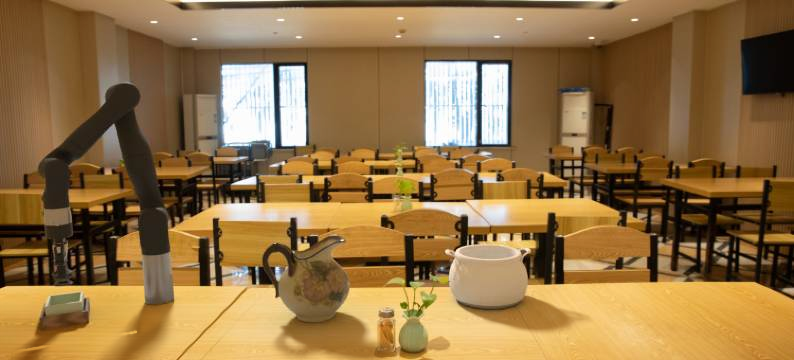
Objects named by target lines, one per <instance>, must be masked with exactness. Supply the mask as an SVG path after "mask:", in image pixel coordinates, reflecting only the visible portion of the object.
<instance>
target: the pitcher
mask: <svg viewBox="0 0 794 360" xmlns="http://www.w3.org/2000/svg"><path fill="white" fill-rule="evenodd" d="M345 243H346V239H345V238H344V237H343V236H341V235H338V234H331V235H328V236H326V237H323V238H322V239H321V240H319V241H318V242H316V243H315V244H313V245H312V246H309V247H307V248H305V249H304V250H292V249H291V248H290V247H289V246H288V245H286V244H283V243H279V242H274V243H272V244H270V246H268V247H267V248H266V249H265V250H264V252H263V255H262V256H261V257H262V258H261V262H262V263H261V264H262V268H263V269H264V272H265V273H266V275H267V276H268V278H269V279H270V281H271V282H272V284H273V287H274V289H275V296H274V297H275V299H278V298H280V300H281V301H282V303H283V304H284V305H285V307H286V308H287V309H288V310H289V311H290V312H291V313H292V314H294V315H295V316H296V319H298V320H299V321H302V322H305V323H321V322H322V323H323V322H326V321H329V320H332V319H333V318H334V317H335V316H336V313H337V311H338V310H339V309H340V308H341V307H342V306H343V304H345V302H346V300H347V298H348V296H349V293H350V288H351V285H350V278H349V274H347V272H346V270H345V269H344V268H343V266H341V265H340V264H339V263H338V262H337V261H336V260H335V259H334V258H333V256H332V252H333V250H334V249H335V248H336V247H339V246H341V245H344V244H345ZM274 253H275V254H276V253H280V254H282V256H284V258H285V260H286V262H287V267H286V268H285V269H284V270H283V272H282V273H281V275H280V277H279V279H277V277H276V275H275V274H274V271H272V268H271V266H270V264H269V259H270V256H271V255H272V254H274Z"/></svg>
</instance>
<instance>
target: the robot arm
mask: <svg viewBox="0 0 794 360" xmlns="http://www.w3.org/2000/svg"><path fill="white" fill-rule="evenodd" d="M104 98H105V101H104V103H103V104H102V105H101V106H100V108H99V109H98V110H96V111H95V113H93V114H92V115H91V116H90V117H89V118H87V119H85V120H84V121H83V122H82V123H81V124H80V125H79V126H77V127H76V128H75V129H74V130H73V131H72V132H71V133H70V134H69V135H68V136H67V137H66V138H65V140H63V141H62V143H61V144H60V145H58V146H57V147H56V148H54V149H53V150H52V151H51V152H49V153H47V155H45V156H44V157H43V158H42V160H40V162H39V163H38V166H37V172H38V174H39V176H40V177H41V178H43V179H45V189H44V191H43V192H42V200H43V203H42V204H43V222H44V225H43V226H44V235H45V238H46V239H48V240H54V242H52V250H53V258H54V265H55V266H56V269H57V273H58V277H59V278H61V277H66V268H65V264H66V262H65V258H66V259H67V260H68V253H69V251H68V250H69V249H68V247H69V243H68V240H67V238H70V237H72V236H73V235H74V229H73V219H72V210H71V205H70V196H69V190H70V182H71V169H70V165H71V164H73V162H74V163H75V161H78V160H80V159H82V157H84V156H85V154H86V153H87V152H88V151H89V150H91V149H92V147H94V145H95V144H96V143H97V142H98V141H99V140H100V139H101V137H102V136H103V135H104V134H105V133H106V132H107V131H108V130H109V129H110V128H111V127H112V126H113V125H114V127H115V130H116V136H117V140H118V143H119V148H120V152H121V157H122V161H123V165H124V168H125V172H126V173H127V174H126V175H127V176H128V178H129V181H130V182H131V184H132V186H133V189H134V190H135V193H136V195H137V200H138V205H139V211H140V214H139V217H138V221H137V223H138V224H137V225H138V235H139V236H138V237H139V247H140V250H141V251H140V252H141V262H142V276H143V277H142V278H143V291H144V302H145V304H146V305H150V306H151V305H153V306H154V305H164V304H167V303H170V302H174V301H175V290H174V278H173V277H174V275H173V270H172V256H171V252H172V251H171V243H170V237H169V220H170V217H169V216H170V215H169V212H168V210H167V207H166V205H165V203H164V200H163V197H162V194H161V191H160V187H159V181H158V175H157V169H156V165H155V160H154V156H153V153H152V149H151V147H150V143H149V142H148V140H147V139H146V136H145V134H144V133H143V132H142V130H141V127H140V126H139V123H138V120H137V116H136V111H135V108H136V107H137V106H138V105H139V103H140V102H141V98H142V97H141V92H140V89H139V88H138V86H136V85H135V84H133V83H131V82H127V81H126V82H118V83H115V84H113V85H111V86H109V87H108V88H107V89H106V91H105V95H104ZM64 253H65V254H64ZM59 258H62V260H63V261H58V259H59Z"/></svg>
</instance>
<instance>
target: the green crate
mask: <svg viewBox="0 0 794 360" xmlns="http://www.w3.org/2000/svg"><path fill="white" fill-rule="evenodd" d="M84 294H85V293H84V291H83V290H82V291H80V290H79V291H74V292H67V293H66V292H65V293H58V294H52V295H48V296H47V298H46V299H47V300H46V302H45V303H46V305H45V314H46V316H52V315H59V314H66V313H72V312H79V311H85V305H84V298H85V297H84Z"/></svg>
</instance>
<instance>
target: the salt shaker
mask: <svg viewBox="0 0 794 360" xmlns="http://www.w3.org/2000/svg"><path fill="white" fill-rule="evenodd" d="M64 254H65V253H64ZM58 261H63V260H62V258H59V259H58ZM65 262H66V264H65V268H66V277H61V278H59V277H58V273H57V268H55V269H56V270H55V271H53V272H52V273H51V276H52V278H53V279H54V280H55V281H56V282H55V283H54V284H53V286H54V287H65V286H71V285H72V284H73V283H74V281H72V280H70V279H71V278H72V277H73V273H74V271H73V270H71V269H69V267H68V262H69V259H68V258H67V259H66V258H65Z"/></svg>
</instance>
